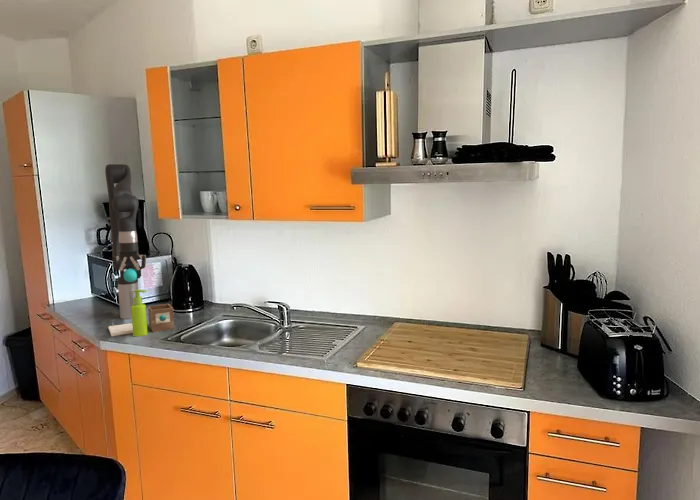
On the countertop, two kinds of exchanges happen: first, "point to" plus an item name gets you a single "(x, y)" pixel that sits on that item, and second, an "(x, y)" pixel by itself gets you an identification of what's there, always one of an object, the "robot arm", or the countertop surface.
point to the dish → (120, 329)
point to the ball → (130, 275)
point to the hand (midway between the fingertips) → (131, 278)
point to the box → (161, 317)
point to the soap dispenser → (139, 315)
